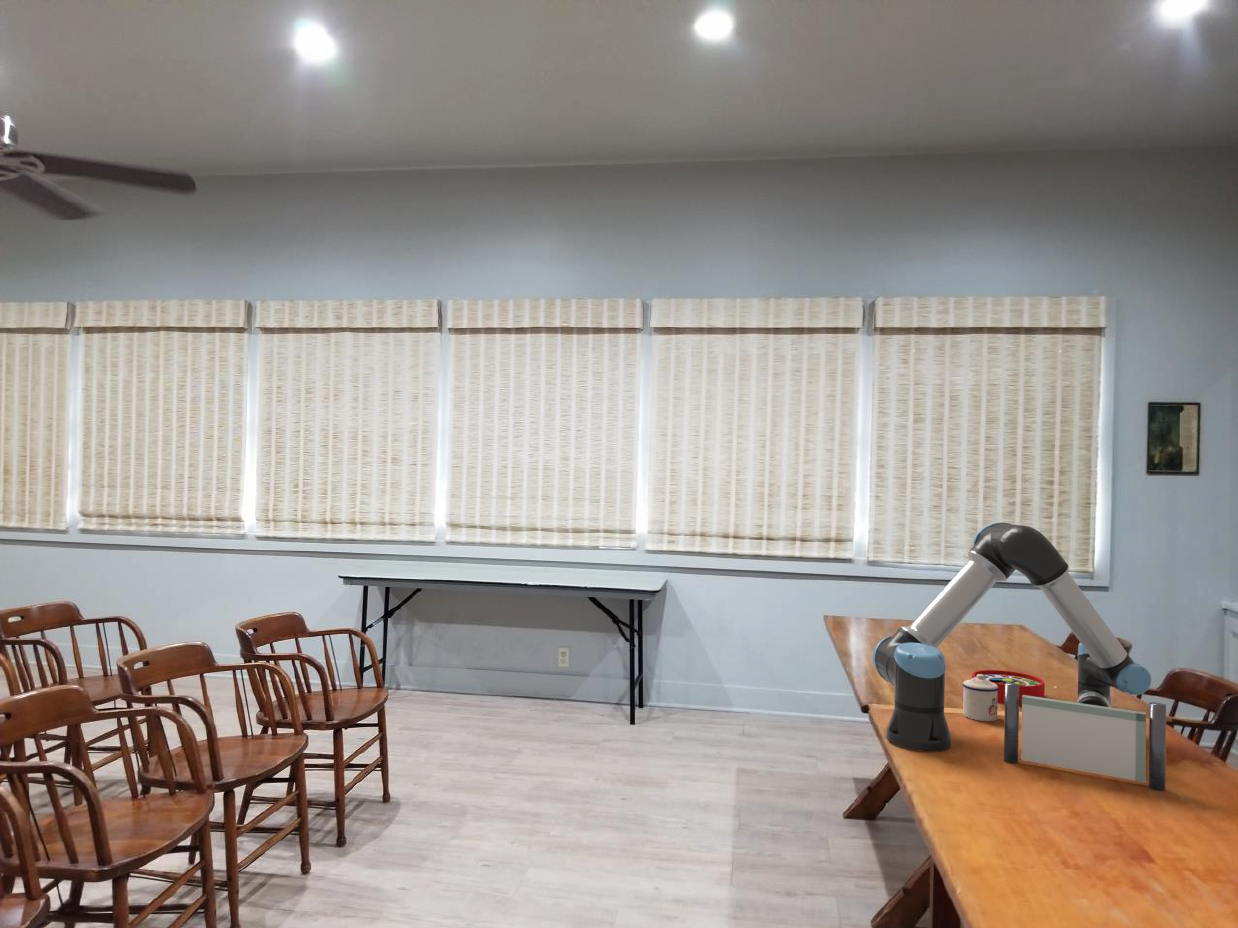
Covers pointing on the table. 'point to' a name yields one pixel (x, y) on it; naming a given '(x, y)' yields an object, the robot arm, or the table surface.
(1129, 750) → the grey rectangular panel
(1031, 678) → the toy clock
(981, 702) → the teacup with lid
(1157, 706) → the posts
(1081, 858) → the table surface
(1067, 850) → the table surface
